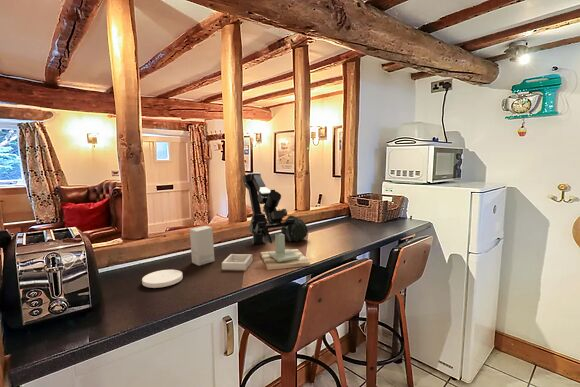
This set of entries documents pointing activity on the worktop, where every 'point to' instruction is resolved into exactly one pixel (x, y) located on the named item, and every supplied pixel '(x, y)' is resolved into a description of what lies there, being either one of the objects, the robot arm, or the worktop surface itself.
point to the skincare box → (202, 245)
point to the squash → (296, 230)
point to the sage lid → (282, 250)
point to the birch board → (274, 264)
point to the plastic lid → (162, 278)
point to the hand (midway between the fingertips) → (281, 241)
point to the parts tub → (237, 262)
